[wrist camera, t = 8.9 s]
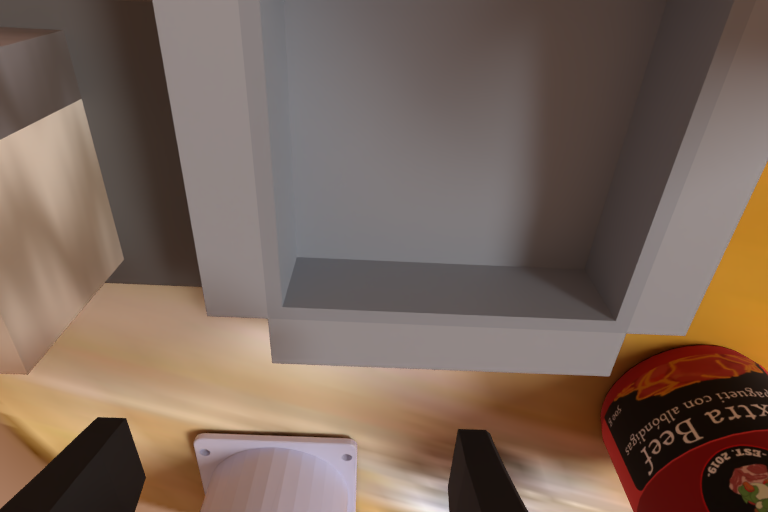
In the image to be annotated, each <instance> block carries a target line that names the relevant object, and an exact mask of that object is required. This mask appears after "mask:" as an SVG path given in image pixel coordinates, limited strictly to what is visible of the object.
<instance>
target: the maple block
mask: <svg viewBox="0 0 768 512" xmlns="http://www.w3.org/2000/svg"><path fill="white" fill-rule="evenodd" d="M123 260H124V257H123V253H122V250H121V246H120V242H119V238H118V234H117V231H116V227H115V223H114V219H113V216H112V212H111V208H110V204H109V200H108V197H107V193H106V189H105V185H104V182H103V178H102V174H101V170H100V166H99V163H98V159H97V155H96V151H95V148H94V144H93V140H92V136H91V132H90V129H89V125H88V121H87V117H86V114H85V110H84V106H83V102H82V98H81V95H80V91H79V87H78V83H77V80H76V76H75V72H74V68H73V64H72V61H71V57H70V53H69V49H68V46H67V42H66V38H65V34H64V30H51V29H32V28H13V27H0V373H1V374H27V375H28V374H29V372H30V371H31V370H32V369H33V368H34V366H35V365H36V364H37V363H38V362H39V360H40V359H41V358H42V357H43V356H44V355H45V353H46V352H47V351H48V350H49V349H50V347H51V346H52V345H53V344H54V343H55V341H56V340H57V339H58V338H59V337H60V335H61V334H62V333H63V332H64V331H65V329H66V328H67V327H68V326H69V325H70V323H71V322H72V321H73V320H74V319H75V317H76V316H77V315H78V314H79V313H80V312H81V310H82V309H83V308H84V307H85V306H86V304H87V303H88V302H89V301H90V300H91V298H92V297H93V296H94V295H95V294H96V292H97V291H98V290H99V289H100V288H101V286H102V285H103V284H104V283H105V282H106V280H107V279H108V278H109V277H110V276H111V275H112V273H113V272H114V271H115V270H116V269H117V267H118V266H119V265H120V264H121V263H122V261H123Z"/></svg>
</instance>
